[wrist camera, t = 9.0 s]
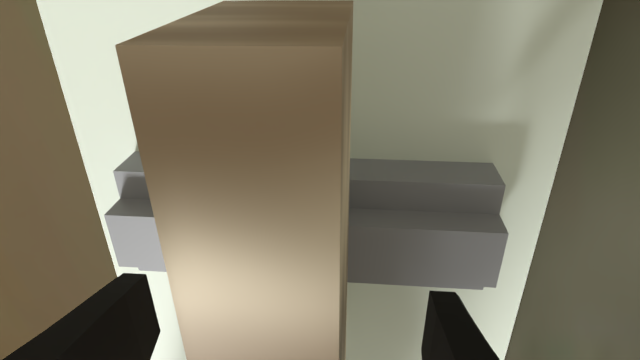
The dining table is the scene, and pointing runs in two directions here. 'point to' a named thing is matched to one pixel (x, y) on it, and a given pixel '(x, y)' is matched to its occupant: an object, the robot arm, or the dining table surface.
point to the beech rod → (249, 172)
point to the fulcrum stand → (375, 152)
